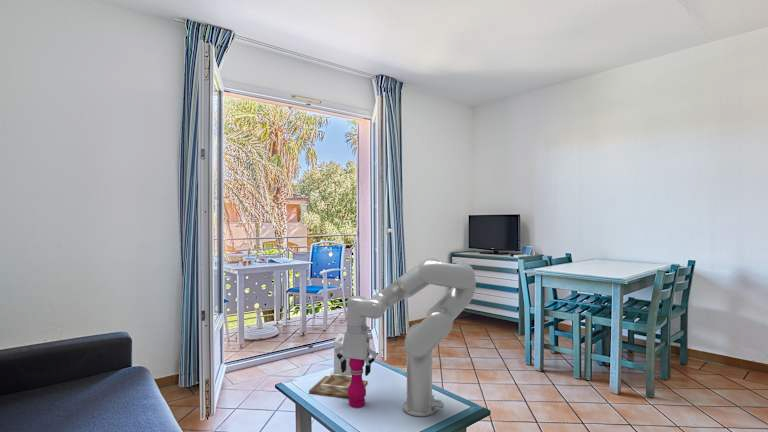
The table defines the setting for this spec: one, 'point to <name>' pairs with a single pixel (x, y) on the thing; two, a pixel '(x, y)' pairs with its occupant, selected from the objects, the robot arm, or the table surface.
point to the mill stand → (333, 386)
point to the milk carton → (337, 363)
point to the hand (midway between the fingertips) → (355, 372)
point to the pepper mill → (356, 384)
